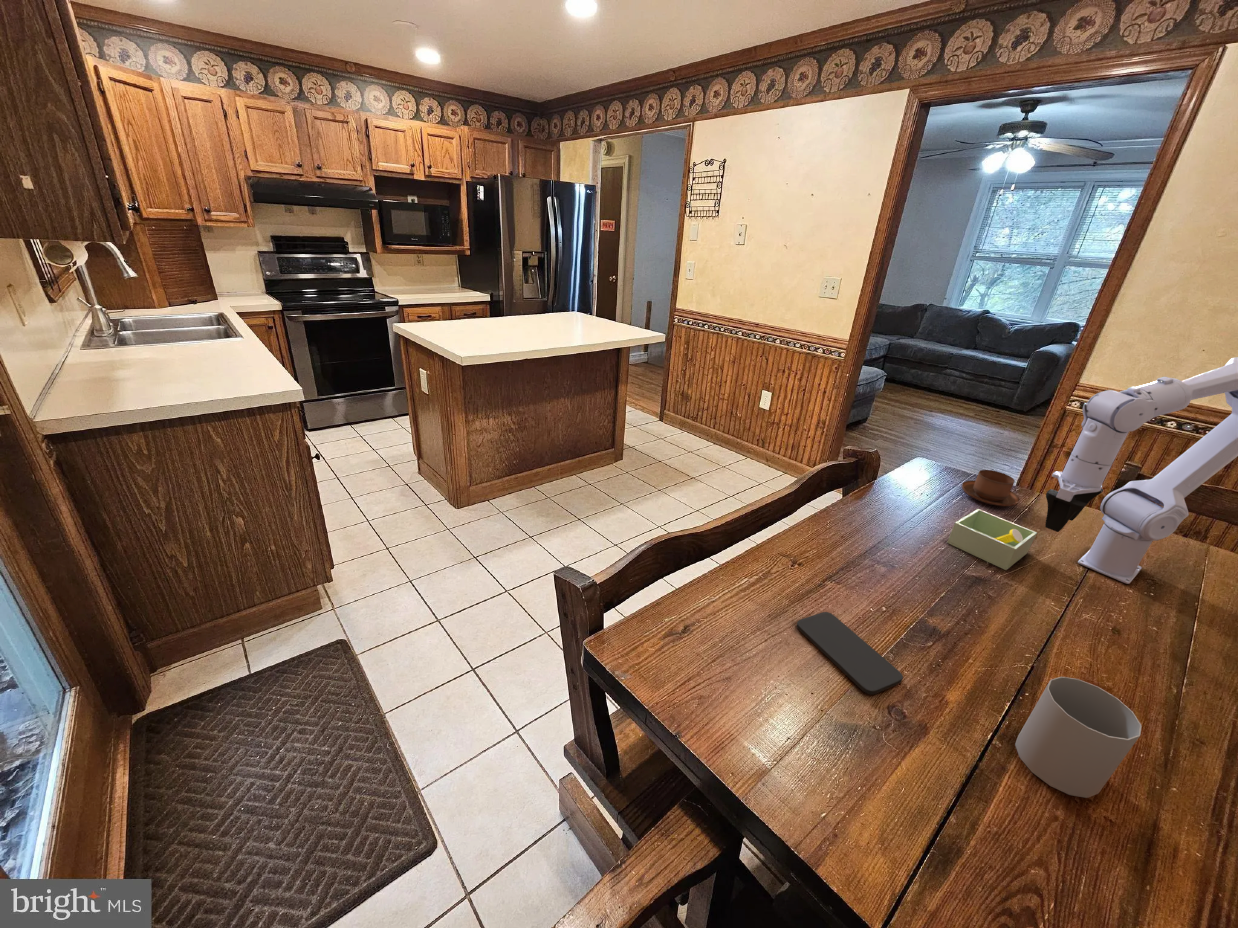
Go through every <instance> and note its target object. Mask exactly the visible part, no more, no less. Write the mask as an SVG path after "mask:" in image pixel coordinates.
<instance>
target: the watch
mask: <svg viewBox="0 0 1238 928" xmlns="http://www.w3.org/2000/svg"><path fill="white" fill-rule="evenodd" d="M994 539H996V540H999V541H1001V542H1003V543H1005V544H1006V543H1009V542H1012V541H1014V542H1015V543H1020V542H1021V541H1023V538H1022V535H1021V533H1020V532H1019V531H1018V530H1017V529H1012V530H1010V532H1009V534H1006V535H1003V536H1000V537H997V538H994Z"/></svg>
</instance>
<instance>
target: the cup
mask: <svg viewBox="0 0 1238 928" xmlns="http://www.w3.org/2000/svg"><path fill="white" fill-rule="evenodd" d="M1141 733H1142V724H1141V722H1140V720H1139V719H1138V718H1137V716H1136V714H1135V713H1134V711H1133V710H1131V708H1129V707H1128V706H1127V705H1125V703H1123V702H1122V701H1121V700H1120V699H1119V698H1118V697H1116V696H1115V695H1114V694H1111V693H1110V692H1108V691H1106V690H1104V689H1103V688H1101V687H1100V686H1098V685H1095V684H1092V683H1090V682H1087V681H1084V680H1082V679H1080V678H1074V677H1068V676H1059V677H1055V678H1051V679H1050V680H1049V681H1048V682H1047V684H1046V687H1045V688H1044V690H1043V692H1042V693H1041V695H1040V697H1039V699H1038V701H1037V702H1036V704H1035V706H1034V708H1033V709H1032V711H1031V713H1030V714H1029V716H1028V717H1027V720H1026V721H1025V723H1024V725H1023V727H1022V729H1020V732H1019V734H1018V735H1017V738H1016V741H1015V743H1014V746H1015V749H1016V751H1017V754H1018V757H1019V759H1020V760H1021V761H1022V762H1023V764H1024V765H1025V766H1026V767H1027V768H1028V769H1029V771H1030V772H1031V773H1032V774H1034V775H1035V776H1036V777H1037V778H1039V779H1040V780H1042V781H1043V782H1044V783H1045V784H1047V785H1048V786H1050V787H1052V788H1054V789H1056V790H1058V791H1060V792H1062V793H1064V794H1066V795H1068V796H1074V797H1079V798H1085V799H1089V798H1091V797H1093V796H1095V795H1098V794H1099V793H1101V791H1102V789H1103V788H1104V787H1105V785H1106V784H1107V782H1108V781H1109V779H1110V778H1111V777H1112V776H1113V774H1114V773H1115V771H1116V770H1117V769H1118V767H1120V764H1122V762H1123V760H1124V759H1125V757H1126V756H1127V755H1128V753H1129V752H1130V751H1131V750H1132V748H1133V747H1134V745H1136V742H1137V741H1138V739H1139V738H1141Z"/></svg>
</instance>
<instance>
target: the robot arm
mask: <svg viewBox="0 0 1238 928" xmlns="http://www.w3.org/2000/svg"><path fill="white" fill-rule="evenodd" d="M1223 394H1224V396H1225V402H1226V404H1227V405H1228V406H1229V407H1230V408H1231V414H1229V415H1228V416H1227V417H1225V419H1223V420H1221V422H1220V423H1219V424H1217V425H1216V426H1215V427H1213V428H1212V429H1211V430H1210V431H1208V432H1207V433H1206V434H1205V435H1204V436H1203V437H1201V438H1200V439H1199V440H1198V441H1197V442H1195V443H1194V444H1193V445H1191V447H1189V448H1188V449H1187V450H1186V451H1184V452H1183V453H1182V454H1180V455H1179V456H1178V457H1177V458H1176V459H1174V460H1172V462H1171V463H1169V464H1168V465H1167V466H1166V467H1164V468H1163V469H1162V470H1161V471H1160V472H1159V473H1157V474H1156V475H1155V476H1154V477H1152V478H1150V479H1141V480H1140V479H1139V480H1131V481H1128V482H1127V483H1126V484H1125V485H1123V486H1122V487H1120V488H1118V489H1115V490H1113V491H1111V492H1109V493H1108V494H1107V495H1105V497H1104V498H1103V499H1102V501H1101V503H1100V513H1101V514H1103V516H1102V518H1101V520H1102V521H1103V522H1104V523H1103V525H1102V527H1101V529H1100V530H1099V532H1098V534H1097V535H1096V538H1095V540H1094V542H1093V543H1092V545H1091V547H1090V548H1089V550H1088V551H1087V552H1085V554H1084V555H1083V556H1082V557H1080V559H1079V560H1078V561H1077V563H1078V564H1079V565H1081V566H1083V567H1086V568H1088V569H1090V570H1092V571H1094V572H1096V573H1100V574H1102V575H1105V576H1107V577H1109V578H1111V579H1114V580H1117V581H1119V582H1121V583H1123V584H1126V585H1130V584H1131V583H1132V581H1133V580H1134V579H1135V577H1136V576H1137V575H1138V574H1139V573H1140V572H1141V570H1142V569H1143V567H1142V566H1141V565H1140V563H1141V562H1142V561H1143V559H1144V557H1145V555H1146V553H1147V552H1148V550H1149V548H1150V546H1151V545H1152V543H1153V542H1157V541H1161V540H1164V539H1166V538H1168V537H1169V536H1171V535H1172V534H1173V533H1174V532H1175V531H1176V530H1177V529H1178V527H1179V526H1180V524H1181V523H1182V522H1183V521H1184V520H1185V519H1186V518H1188V517H1189V515H1190V513H1189V510H1188V506H1187V503H1186V501H1185V499H1186V497H1188V496H1189V495H1190V494H1191V493H1193V492H1194V491H1195V490H1197V489H1198V488H1199V487H1200V486H1202V485H1203V484H1204V483H1205V482H1207V481H1208V480H1209V479H1210V478H1212V477H1213V476H1214V475H1216V474H1217V473H1218V472H1220V471H1221V470H1222V469H1223V468H1225V467H1226V466H1228V465H1229V464H1230V463H1231V462H1232V461H1234V460H1235V459H1236V458H1237V457H1238V356H1235V357H1231V358H1230V359H1229V360H1228V361H1227V362H1226V363H1225V364H1224V366H1220V367H1217V368H1214V369H1212V370H1209V371H1205V372H1203V373H1201V374H1198V375H1197V374H1196V375H1194V376H1192V377H1189V378H1185V379H1183V380H1180V379H1178V378H1175V377H1168V376H1162V377H1158V378H1156V380H1155V381H1152V382H1150V383H1145V384H1142V385H1138V386H1130V387H1127V389H1124V390H1121V391H1116V390H1113V389H1108V390H1104V391H1100V392H1097V393H1096V394H1094V395H1092V396H1091V397H1090V398H1089V399H1088V401H1087V402H1085V403H1083V406H1082V415H1083V420H1082V422H1081V428H1082V430H1081V432H1080V434H1079V436H1078V438H1077V441H1076V443H1075V445H1074V447H1073V449H1072V451H1071V453H1070V455H1069V458H1068V460H1067V462H1066V464H1065V465H1064V468H1063V470H1062V471H1057V470H1056V471H1054V472H1053V473H1052V475H1051V477H1052V478H1055V479H1057V480H1058V483H1059V489H1058V491H1057V490H1055V489H1052V488H1050V489H1049V490H1047V491H1046V494H1045V498H1046V502H1047V511H1046V517H1045V525H1044V527H1045V529H1049V530H1051V531H1053V532H1056V533H1059V532H1060V531H1062V529H1064V527H1066V525H1067V524H1068V522H1069V521H1071V522H1072V521H1074V520H1075V519H1076V518H1077V517H1078V516H1079V514H1081V512H1082V511H1083V510H1084V509H1085V507H1086V506H1087V505H1088V504H1089V503H1090V502H1091V501H1092V500H1093V499H1094V498H1096V497H1098V496H1099V495H1100V494H1102V493H1103V492H1104V489H1103V483H1104V481H1105V480H1106V477H1107V475H1108V474H1109V471H1110V470H1111V468H1112V466H1113V464H1114V461H1115V460H1116V458H1117V456H1118V454H1119V452H1120V450H1121V448H1122V446H1123V444H1124V442H1125V441H1126V439H1127V437H1128V435H1129V433H1130V432H1134V431H1137V430H1138V429H1139V428H1141V427H1142V426H1143V425H1145V423H1147V422H1149V421H1151V420H1152V419H1154V418H1157V417H1159V416H1164V415H1168V414H1171V413H1175V412H1178V411H1182V410H1184V409H1186V408H1187V407H1188V406H1189V405H1190V403H1191V401H1193V400H1198V399H1203V398H1207V397H1211V396H1216V395H1223Z"/></svg>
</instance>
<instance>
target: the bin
mask: <svg viewBox="0 0 1238 928" xmlns="http://www.w3.org/2000/svg"><path fill="white" fill-rule="evenodd" d="M1012 529H1017V530H1018V531H1019V532H1020V533H1021V535H1022V538H1023V541H1021V542H1020V543H1015V542H1014V541H1012V542H1009V543H1006V544H1005V543H1003V542H1001V541H999V540H996V539H994V538H997V537H1000V536H1003V535H1006V534H1009V532H1010V530H1012ZM1037 534H1038V532H1036V531H1034V530H1032V529H1030V528H1027V527H1024V526H1022V525H1019V524H1017V523H1015V522H1012V521H1010V520H1007V519H1005V518H1001V517H999V516H997V515H994V514H992V513H990V512H987V511H984V510H982V509H980V508H977V509H975V510H974V511H972V512H969V514H967V515H965V516H963V517H961V518H960V519H958V520H957V521H955V522H954V523H953V527H952V528H951V531H950V533H949V537H948V539H947V541H946V543H947V544H949V545H951V546H953V547H955V548H957V549H960V550H962V551H964V552H966V553H968V554H970V555H972V556H974V557H976V558H978V559H980V560H983V561H985V562H987V563H989V564H991V565H994V566H996V567H998V568H1001V569H1002V570H1004V571H1007V570H1009V569H1010V568H1011V567H1012V566H1013V565H1014V564H1016V563H1018V561H1020V560H1021V559H1022V558H1023V557H1024V556H1026V555H1027V554H1028V553H1029V552H1030V551H1029V550H1030V549H1031V547H1032V544H1033V542H1034V540H1035V539H1036V537H1037Z"/></svg>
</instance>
